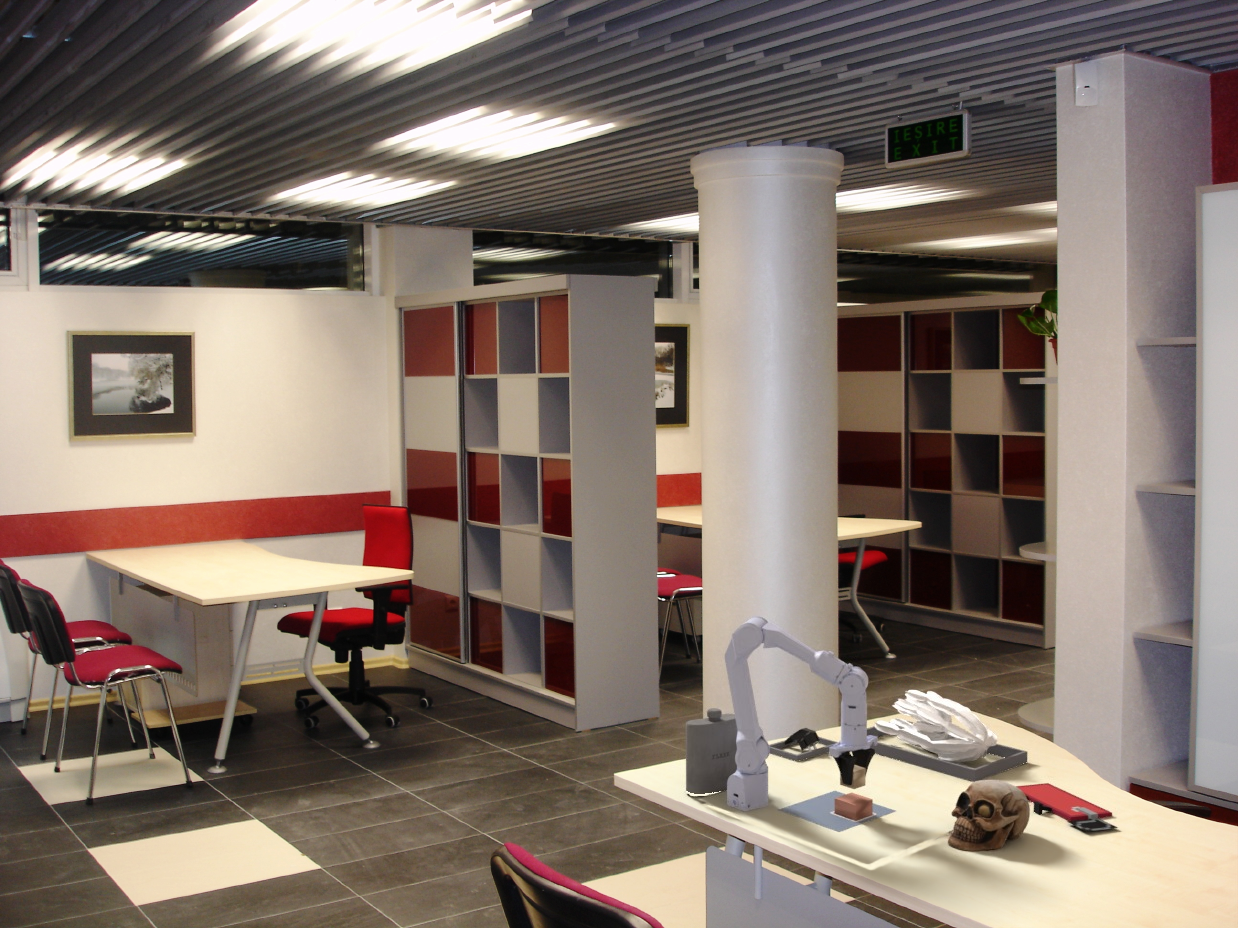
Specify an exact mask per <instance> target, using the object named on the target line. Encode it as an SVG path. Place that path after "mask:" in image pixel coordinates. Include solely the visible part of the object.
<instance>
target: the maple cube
mask: <svg viewBox="0 0 1238 928" xmlns="http://www.w3.org/2000/svg"><path fill="white" fill-rule="evenodd" d="M866 778H867V773H866V768H864V767H860V766H857V765H854V770H853V780H852V785H846V784H843V782H842V778H841V774H840V773H839V786H842V787H846V788H849V789H852V790H856V789H860V788H862V787H865V786H866Z"/></svg>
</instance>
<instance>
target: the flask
mask: <svg viewBox="0 0 1238 928" xmlns="http://www.w3.org/2000/svg"><path fill="white" fill-rule="evenodd" d="M737 732H738V730H737V724H736V719H735V713H734V714H733V713H722V710H721V709H719V708H715V707H714V708H713V707H712V708H709V709H707V711H706V717H704V718H698V719H697V718H696V719H691V720H688V721H686V722H685V792H686V791H688V792H690V793H694V794H705V793H712V792H713V793H714V792H719V791H724V790H727V781H728V778H729V777H730V776H731V775H732V774H734V773H735V772H736V770H737V764H736V762H735V755H736V752H737V745H736V739H737ZM724 792H725V791H724Z"/></svg>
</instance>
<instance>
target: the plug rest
mask: <svg viewBox="0 0 1238 928" xmlns="http://www.w3.org/2000/svg"><path fill="white" fill-rule="evenodd" d="M818 737H819V739H820V742H818V743H817V744H821V745H824V746H822V747H819V748H818V747H817V749H814V748H813V749H812V750H811V751H809V750H808V751H804V752H801V753H798V754H796V753H792V752H789V751H786V750H784V749H782V748H786V747H789V746H790V747H791V746H794V745H798V742H797V741H794V742H792V743H790V744H786V745H785V740H786V739H785V740H781V741H778V742H774V743H771V744H769V747H770V754H772V755H774V756H778V757H781V756H782V757H781V758H785V759H787V758H788V759H787V760H790V759H792V760H791V761H794V760H795V761H794V762H800V761H799V760H801V761H804V760H806V758H807V759H811V758H814V757H818V756H820V755H824V754H828V753H829V747H832V746H834V745H835V744H836V743H838V742H839V741H835V740H833V739H827V738H825V737H822V736H818ZM827 752H828V753H827ZM803 759H804V760H803Z"/></svg>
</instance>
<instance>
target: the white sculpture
mask: <svg viewBox="0 0 1238 928" xmlns="http://www.w3.org/2000/svg"><path fill="white" fill-rule="evenodd" d="M904 696H906V698H904V699H903V698H897V700H898V701H895V702H894V703H893V704H892V705H891V706H892V707H893V708H894V709H896V710H897V712H898V713H900V714H901V715H905V716H908V717H911V718H913V719H914V720H915V721H916V722H914V723H913V724H911V723H909V722H907V721H908V720H906V719H903V718H899V717H896V718H891V719H890V720H889V721H884V720H877V722H874V726H875V728H876V729H877V730H879V731H881V732H884V733H887V734H886V735H891V736H896V737H897V738H898V739H899V740H901V741H903V742H905V743H908V744H911V745H914V746H920V747H921V748H922V749H924V750H926V751H928V752H931V753H935V754H936V755H938V756H937V759H940V760H944V761H947V762H951V763H955V764H957V763H964V762H970V761H971V762H973V761H975V760H978V759H979V758H985V757H986V754H988V753H987V750H988V748H989V747H990V746H995V745H996V744H997V742H998V736H997V735H996V734H995V733H994V732H993V731H992V730H990V729H989V727H988V726H987V725H985V724H984V723H983V722H982V721H981V720H980V718H979V717H978V716H977V714H975V713H973V712H972V711H971V709H970V708H969V707H967V706H964V705H962V704H960V703H959V702H957V701H953V700H952V699H949V698H944V697H942V696H941V695H939V694H938V693H936V692H935V691H932V690H928V691H927V692H926V693H925V692H922V691H920V690H917V689H909V690H905V694H904ZM952 716H954V719H956V720H957V721H958V722H959V723H961V724H962V725H963V726H964V727H965V728H963V727H961V726H960V725H957V724H954V723H953V722H952V719H953V718H952ZM889 722H890V723H889ZM901 728H902V729H901ZM966 728H967V729H968V730H967V729H966ZM969 731H970V732H969ZM951 737H953V738H951Z"/></svg>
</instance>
